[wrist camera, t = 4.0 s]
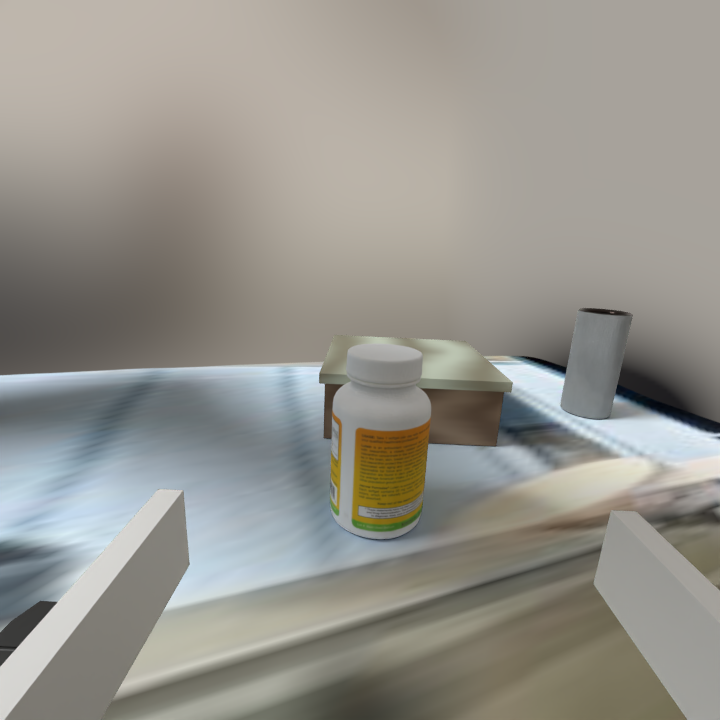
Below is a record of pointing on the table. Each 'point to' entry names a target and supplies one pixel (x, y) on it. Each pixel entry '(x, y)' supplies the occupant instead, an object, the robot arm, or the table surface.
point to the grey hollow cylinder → (595, 362)
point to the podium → (435, 387)
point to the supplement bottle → (379, 442)
